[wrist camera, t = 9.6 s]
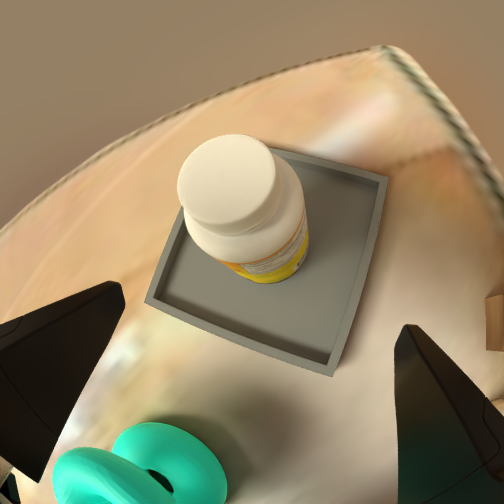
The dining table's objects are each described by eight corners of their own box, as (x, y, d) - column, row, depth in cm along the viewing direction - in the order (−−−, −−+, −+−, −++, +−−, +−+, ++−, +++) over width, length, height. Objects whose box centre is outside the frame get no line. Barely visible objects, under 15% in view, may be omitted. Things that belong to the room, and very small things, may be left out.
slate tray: (330, 372, 18) (332, 377, 16) (156, 304, 22) (144, 302, 20) (383, 188, 20) (388, 177, 19) (219, 150, 24) (213, 138, 22)
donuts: (36, 496, 10) (60, 420, 11) (111, 463, 19) (151, 394, 20) (144, 589, 7) (212, 547, 8) (197, 528, 16) (256, 468, 17)
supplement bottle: (222, 225, 21) (151, 149, 12) (293, 198, 21) (270, 100, 11) (242, 297, 20) (171, 267, 10) (321, 270, 19) (323, 211, 9)
